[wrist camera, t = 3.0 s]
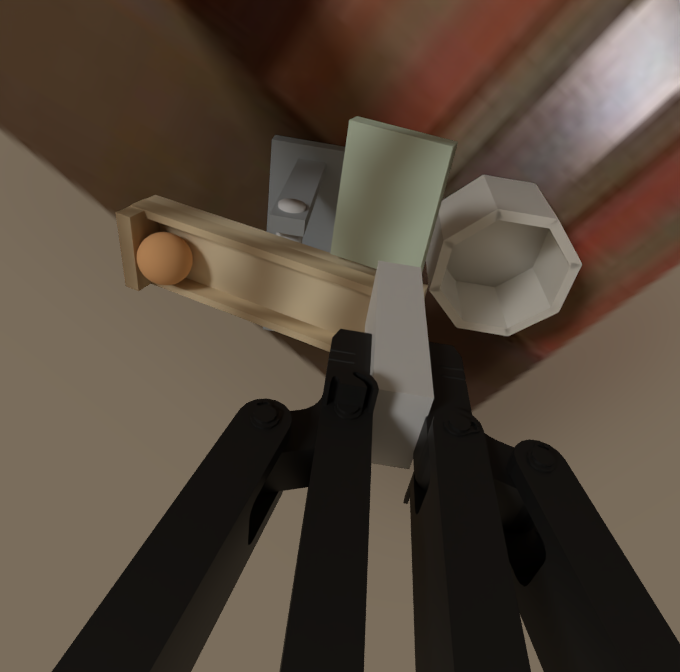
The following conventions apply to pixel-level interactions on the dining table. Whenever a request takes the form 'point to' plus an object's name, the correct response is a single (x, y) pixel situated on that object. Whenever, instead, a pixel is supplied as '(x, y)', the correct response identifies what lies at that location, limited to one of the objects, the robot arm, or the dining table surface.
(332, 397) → the robot arm
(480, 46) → the dining table surface
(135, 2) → the dining table surface
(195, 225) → the lever
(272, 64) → the dining table surface
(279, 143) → the fulcrum
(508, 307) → the cup
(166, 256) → the ball
